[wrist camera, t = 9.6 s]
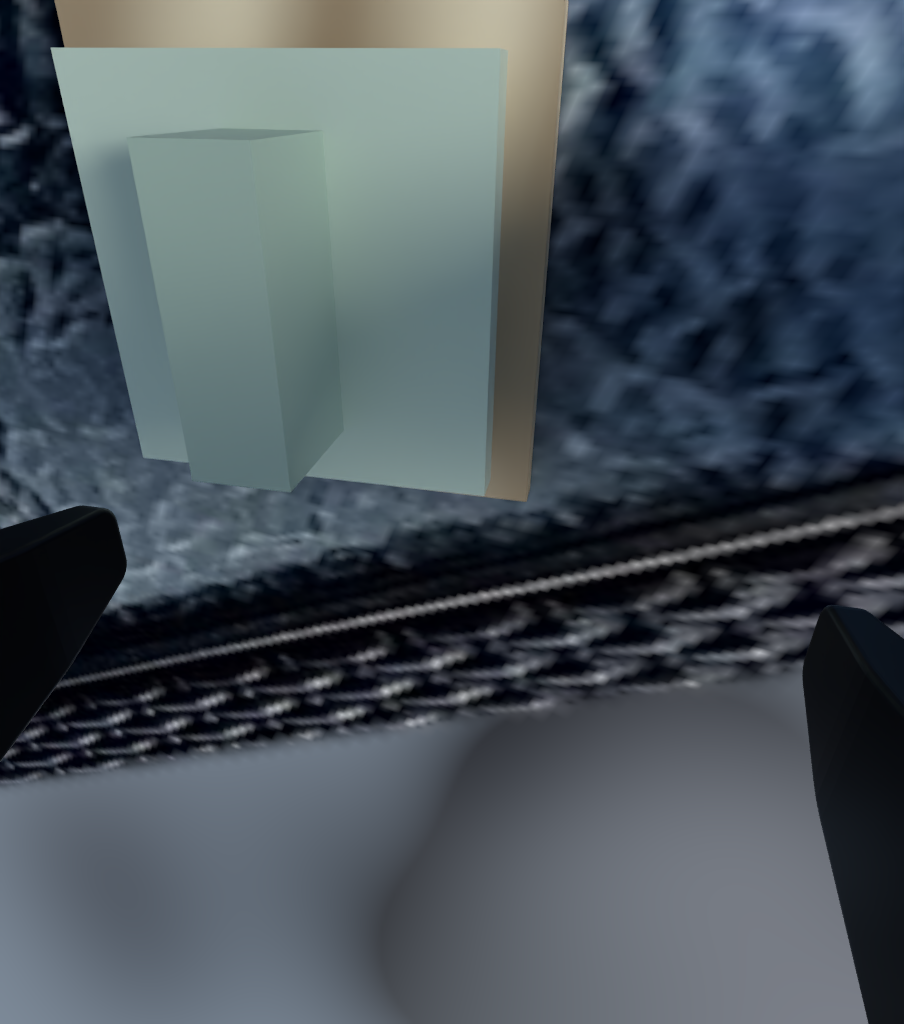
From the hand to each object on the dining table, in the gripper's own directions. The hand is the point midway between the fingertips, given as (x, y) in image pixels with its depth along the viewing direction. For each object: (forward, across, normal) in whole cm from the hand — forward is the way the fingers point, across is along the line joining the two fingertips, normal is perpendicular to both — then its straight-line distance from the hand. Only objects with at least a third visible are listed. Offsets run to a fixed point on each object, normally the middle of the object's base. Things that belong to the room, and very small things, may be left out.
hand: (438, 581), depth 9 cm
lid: (+11, +6, -1) cm, 13 cm away
